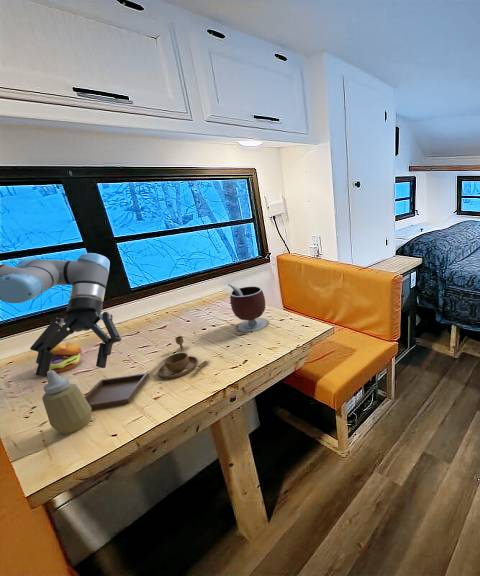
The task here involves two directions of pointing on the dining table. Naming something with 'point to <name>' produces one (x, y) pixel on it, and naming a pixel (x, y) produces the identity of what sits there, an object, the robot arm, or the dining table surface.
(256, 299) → the mate gourd
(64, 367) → the cheeseburger
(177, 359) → the place setting
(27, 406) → the dining table surface
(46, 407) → the squeeze bottle
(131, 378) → the dark brown tray
